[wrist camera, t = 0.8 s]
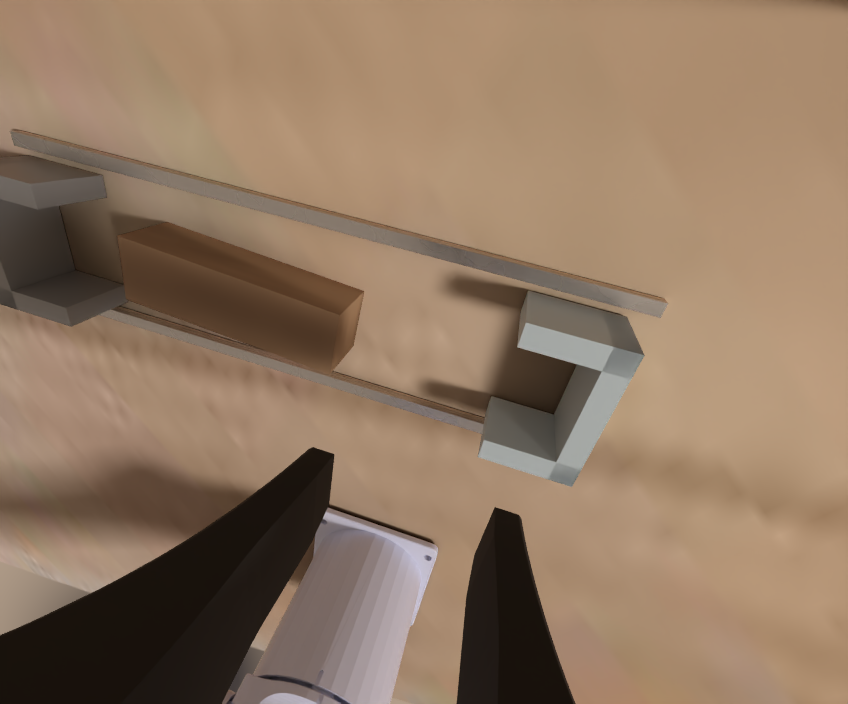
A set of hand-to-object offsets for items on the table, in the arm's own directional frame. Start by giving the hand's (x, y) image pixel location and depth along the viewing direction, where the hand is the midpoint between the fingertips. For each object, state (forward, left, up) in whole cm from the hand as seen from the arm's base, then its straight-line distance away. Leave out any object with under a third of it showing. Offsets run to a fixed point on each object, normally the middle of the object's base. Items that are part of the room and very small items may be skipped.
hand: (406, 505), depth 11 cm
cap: (0, -4, -9) cm, 10 cm away
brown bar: (0, +10, -10) cm, 14 cm away
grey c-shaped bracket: (0, +20, -9) cm, 22 cm away
